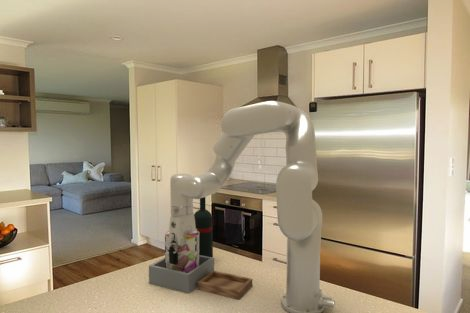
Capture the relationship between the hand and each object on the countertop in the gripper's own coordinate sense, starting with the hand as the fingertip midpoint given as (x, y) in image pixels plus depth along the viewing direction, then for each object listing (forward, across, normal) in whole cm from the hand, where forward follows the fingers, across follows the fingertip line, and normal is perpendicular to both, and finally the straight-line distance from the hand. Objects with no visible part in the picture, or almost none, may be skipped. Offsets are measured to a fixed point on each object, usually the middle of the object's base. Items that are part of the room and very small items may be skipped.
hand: (182, 258), depth 116 cm
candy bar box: (+7, 0, 0) cm, 7 cm away
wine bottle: (+7, +16, +3) cm, 18 cm away
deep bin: (+7, 0, 0) cm, 7 cm away
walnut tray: (+7, 0, -17) cm, 18 cm away
